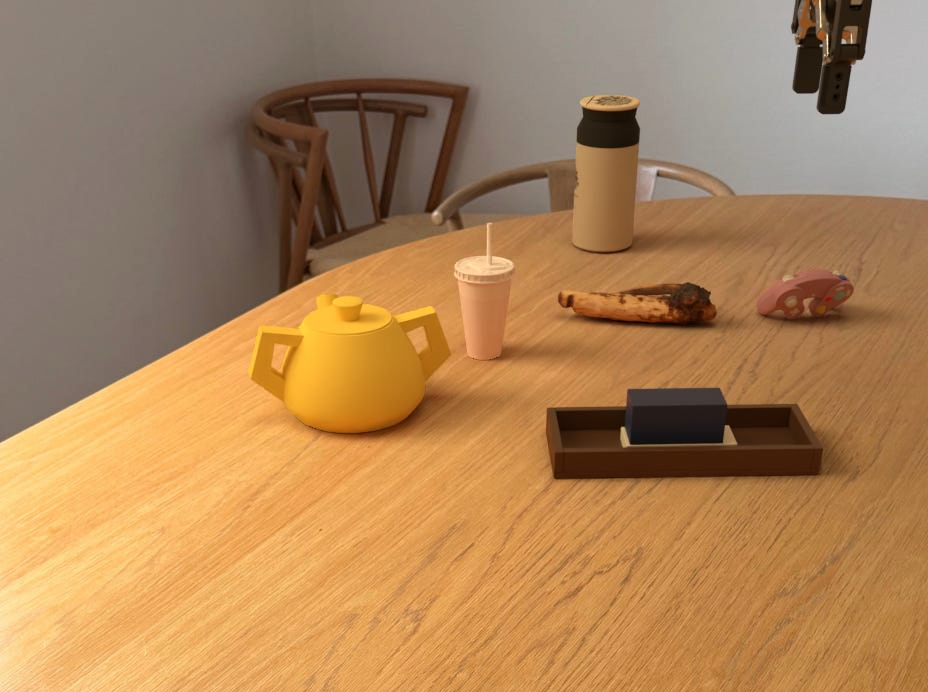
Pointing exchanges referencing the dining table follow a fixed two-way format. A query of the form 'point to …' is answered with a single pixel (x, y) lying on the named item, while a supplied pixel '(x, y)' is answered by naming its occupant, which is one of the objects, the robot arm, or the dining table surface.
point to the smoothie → (484, 300)
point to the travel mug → (606, 173)
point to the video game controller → (806, 293)
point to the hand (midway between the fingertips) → (816, 102)
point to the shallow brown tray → (753, 426)
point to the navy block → (676, 418)
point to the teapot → (350, 364)
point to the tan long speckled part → (645, 304)
